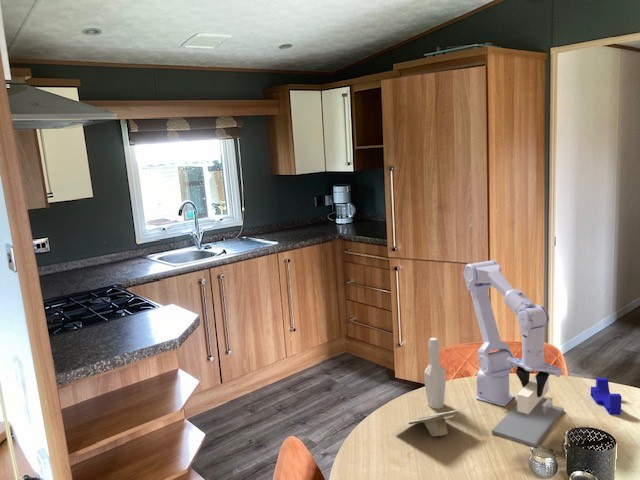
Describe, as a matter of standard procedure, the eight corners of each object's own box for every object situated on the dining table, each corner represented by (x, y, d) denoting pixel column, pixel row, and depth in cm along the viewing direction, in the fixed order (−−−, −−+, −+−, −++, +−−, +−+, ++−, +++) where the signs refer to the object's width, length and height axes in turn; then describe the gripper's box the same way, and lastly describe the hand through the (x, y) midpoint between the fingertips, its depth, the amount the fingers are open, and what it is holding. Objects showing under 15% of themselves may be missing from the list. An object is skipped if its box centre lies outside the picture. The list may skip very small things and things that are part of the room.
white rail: (517, 411, 144) (517, 394, 143) (537, 388, 156) (537, 372, 155) (528, 414, 142) (528, 397, 141) (548, 391, 154) (548, 375, 153)
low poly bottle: (440, 411, 161) (437, 344, 157) (422, 406, 165) (419, 340, 161) (450, 403, 166) (447, 337, 162) (432, 398, 170) (429, 334, 166)
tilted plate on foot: (402, 455, 147) (433, 438, 137) (389, 425, 151) (419, 406, 141) (443, 443, 156) (475, 425, 146) (430, 414, 160) (461, 395, 150)
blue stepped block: (590, 395, 164) (590, 377, 163) (606, 395, 163) (606, 377, 162) (604, 415, 152) (604, 395, 151) (620, 415, 151) (621, 396, 150)
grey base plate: (492, 433, 147) (491, 420, 146) (523, 400, 164) (523, 388, 163) (535, 447, 139) (535, 433, 138) (563, 411, 156) (563, 398, 155)
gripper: (501, 348, 148) (502, 393, 150) (555, 359, 138) (555, 406, 141) (511, 340, 153) (512, 383, 155) (563, 350, 143) (563, 396, 146)
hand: (533, 394), depth 148 cm, fingers closed on white rail, 3 cm apart
